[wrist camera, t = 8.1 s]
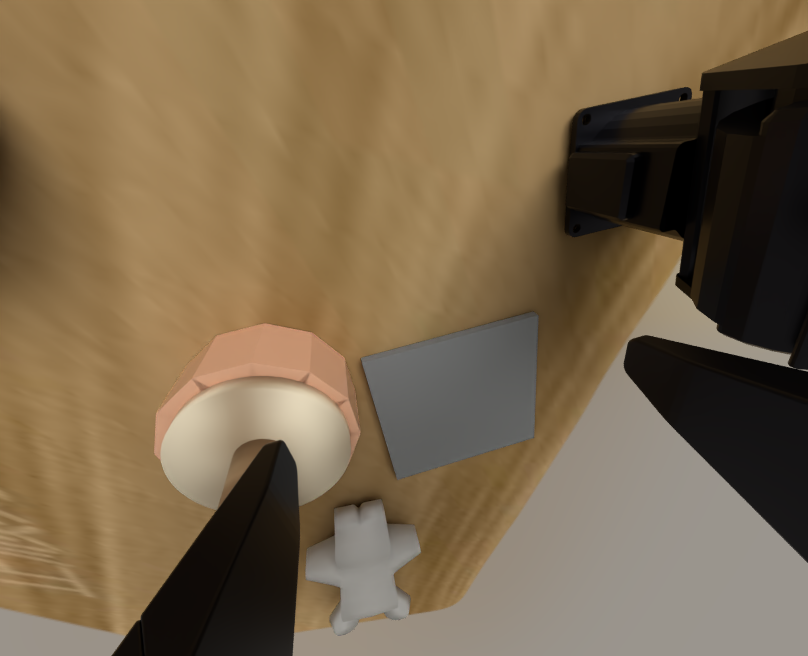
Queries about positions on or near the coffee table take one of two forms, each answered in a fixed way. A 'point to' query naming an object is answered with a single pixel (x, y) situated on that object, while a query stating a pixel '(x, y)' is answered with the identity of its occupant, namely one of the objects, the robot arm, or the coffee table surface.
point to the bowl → (263, 370)
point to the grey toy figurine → (363, 564)
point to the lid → (254, 437)
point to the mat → (456, 394)
